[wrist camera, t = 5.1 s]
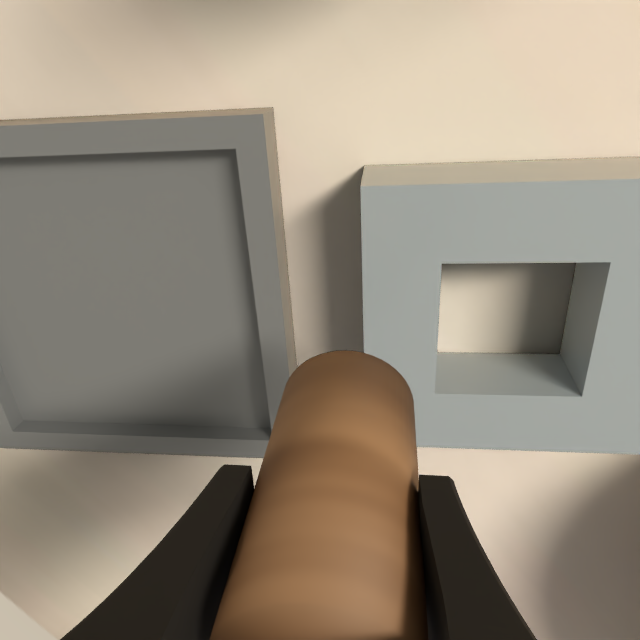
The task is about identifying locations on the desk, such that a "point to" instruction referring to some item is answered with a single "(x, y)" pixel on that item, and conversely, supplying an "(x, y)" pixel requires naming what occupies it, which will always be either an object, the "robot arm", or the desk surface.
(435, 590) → the robot arm
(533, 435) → the square hole block
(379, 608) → the dowel
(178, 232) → the tray
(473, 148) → the desk surface
